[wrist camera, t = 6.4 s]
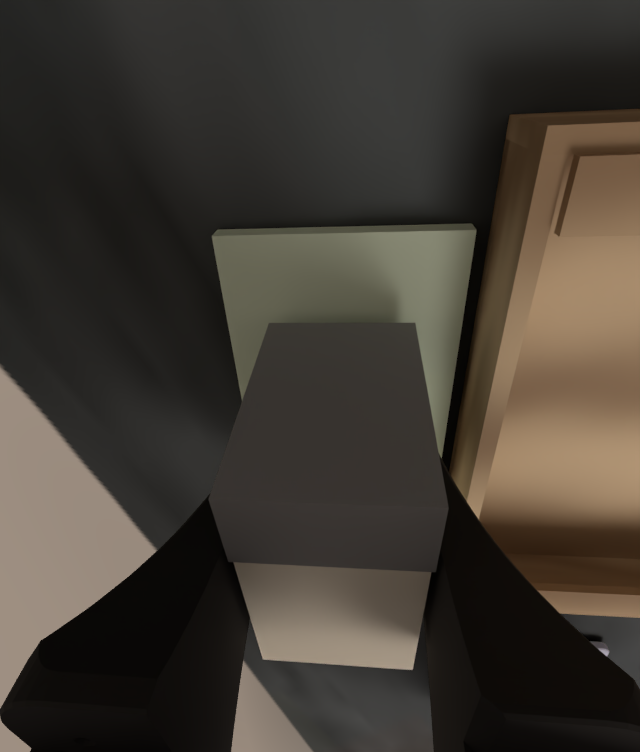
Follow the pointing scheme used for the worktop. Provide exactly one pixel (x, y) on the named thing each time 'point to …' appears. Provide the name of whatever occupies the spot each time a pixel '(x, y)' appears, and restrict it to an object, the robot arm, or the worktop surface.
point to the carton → (560, 362)
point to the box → (334, 494)
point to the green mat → (351, 288)
